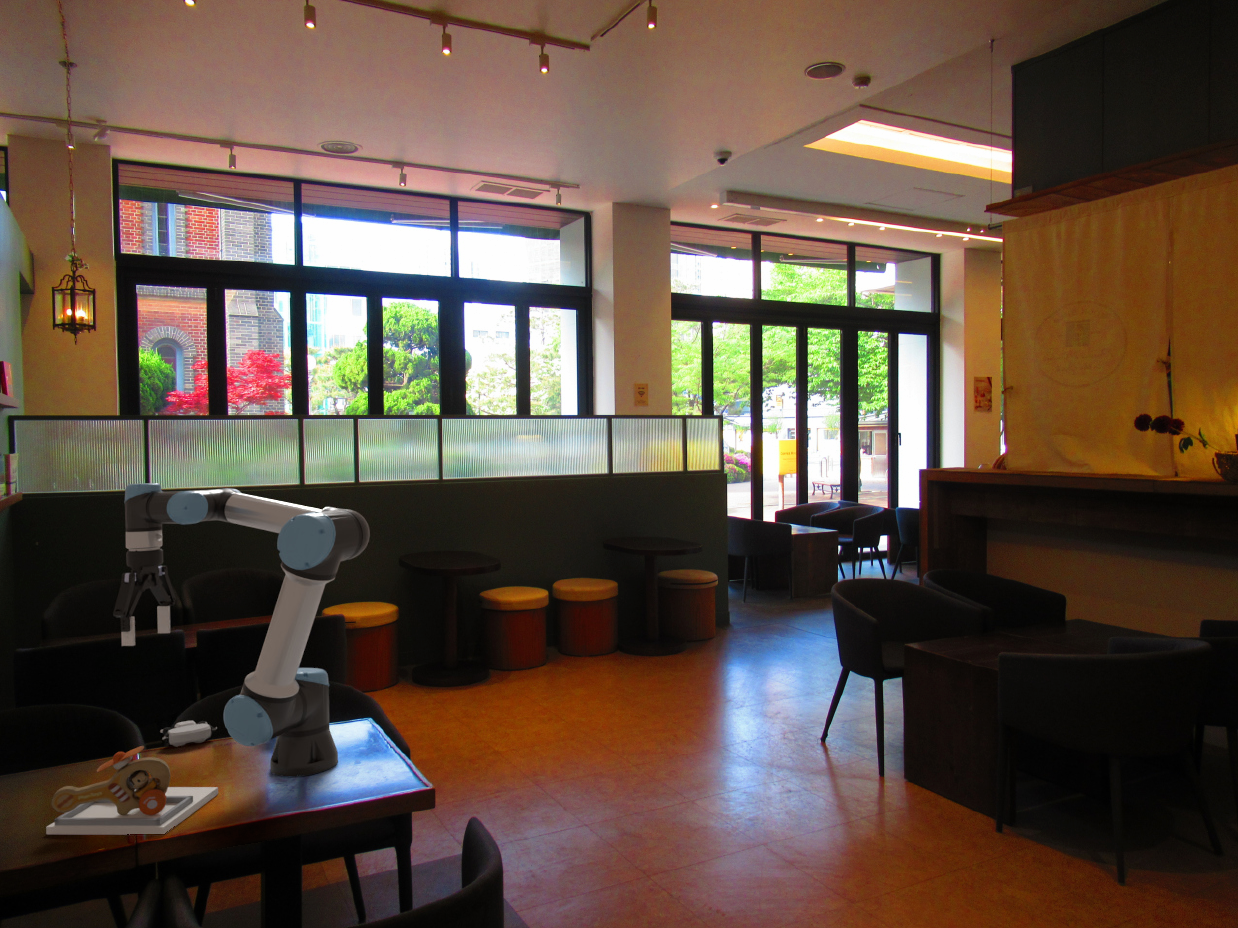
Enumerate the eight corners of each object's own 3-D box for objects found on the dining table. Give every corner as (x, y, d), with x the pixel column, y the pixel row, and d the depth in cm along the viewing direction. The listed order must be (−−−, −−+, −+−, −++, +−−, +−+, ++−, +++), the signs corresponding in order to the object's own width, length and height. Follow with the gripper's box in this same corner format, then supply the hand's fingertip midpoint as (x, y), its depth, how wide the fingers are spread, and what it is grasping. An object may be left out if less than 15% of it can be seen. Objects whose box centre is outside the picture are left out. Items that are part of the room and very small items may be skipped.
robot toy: (158, 741, 224) (165, 752, 212) (157, 724, 224) (164, 734, 212) (208, 732, 231) (218, 742, 219) (208, 715, 231) (217, 725, 219)
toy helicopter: (173, 810, 171) (163, 748, 169) (53, 840, 163) (41, 775, 161) (175, 790, 179) (166, 731, 176) (60, 818, 170) (49, 756, 168)
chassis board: (218, 793, 185) (217, 780, 185) (164, 834, 165) (163, 819, 165) (112, 793, 186) (112, 780, 186) (46, 834, 166) (46, 819, 166)
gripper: (126, 554, 185) (128, 651, 185) (190, 543, 210) (192, 627, 210) (93, 555, 185) (95, 651, 186) (161, 543, 210) (163, 628, 210)
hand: (146, 639), depth 198 cm, fingers open, 13 cm apart
